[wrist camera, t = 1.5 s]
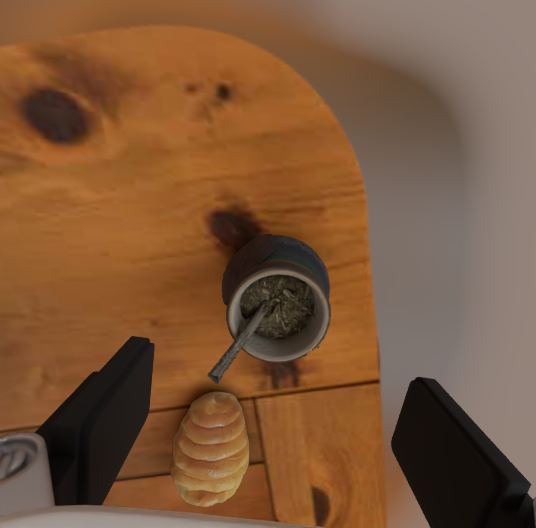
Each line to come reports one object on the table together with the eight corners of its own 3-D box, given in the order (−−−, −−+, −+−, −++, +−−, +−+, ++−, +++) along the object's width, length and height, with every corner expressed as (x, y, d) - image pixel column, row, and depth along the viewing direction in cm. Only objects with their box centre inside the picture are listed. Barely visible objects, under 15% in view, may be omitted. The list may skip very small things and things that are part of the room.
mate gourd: (340, 274, 23) (394, 337, 13) (271, 336, 24) (276, 434, 15) (276, 208, 22) (284, 225, 12) (207, 277, 23) (164, 343, 13)
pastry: (180, 381, 25) (166, 414, 22) (257, 389, 26) (257, 423, 22) (175, 466, 28) (161, 509, 24) (246, 472, 28) (243, 516, 24)
